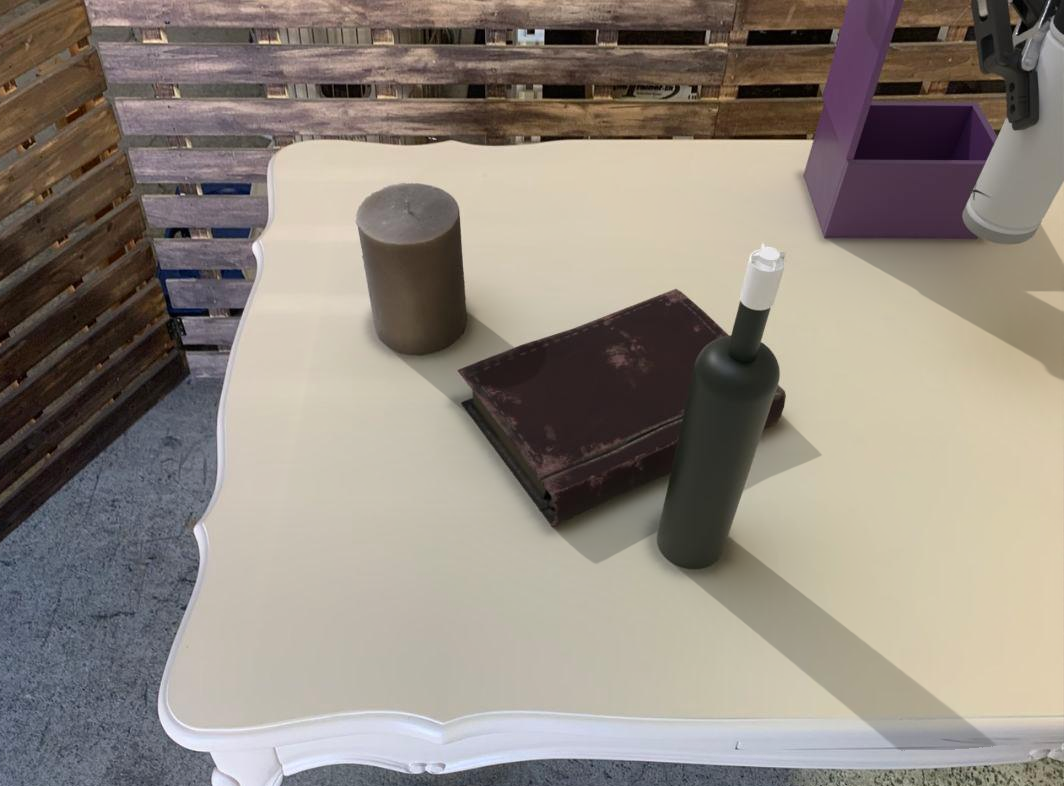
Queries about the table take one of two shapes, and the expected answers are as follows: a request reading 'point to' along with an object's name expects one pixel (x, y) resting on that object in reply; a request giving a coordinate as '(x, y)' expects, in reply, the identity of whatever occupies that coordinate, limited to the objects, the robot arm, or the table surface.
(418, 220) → the pillar candle
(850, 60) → the lid
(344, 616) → the table surface
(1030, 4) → the robot arm
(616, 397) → the diary
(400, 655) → the table surface
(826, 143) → the box
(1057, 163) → the travel mug
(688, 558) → the wine bottle
